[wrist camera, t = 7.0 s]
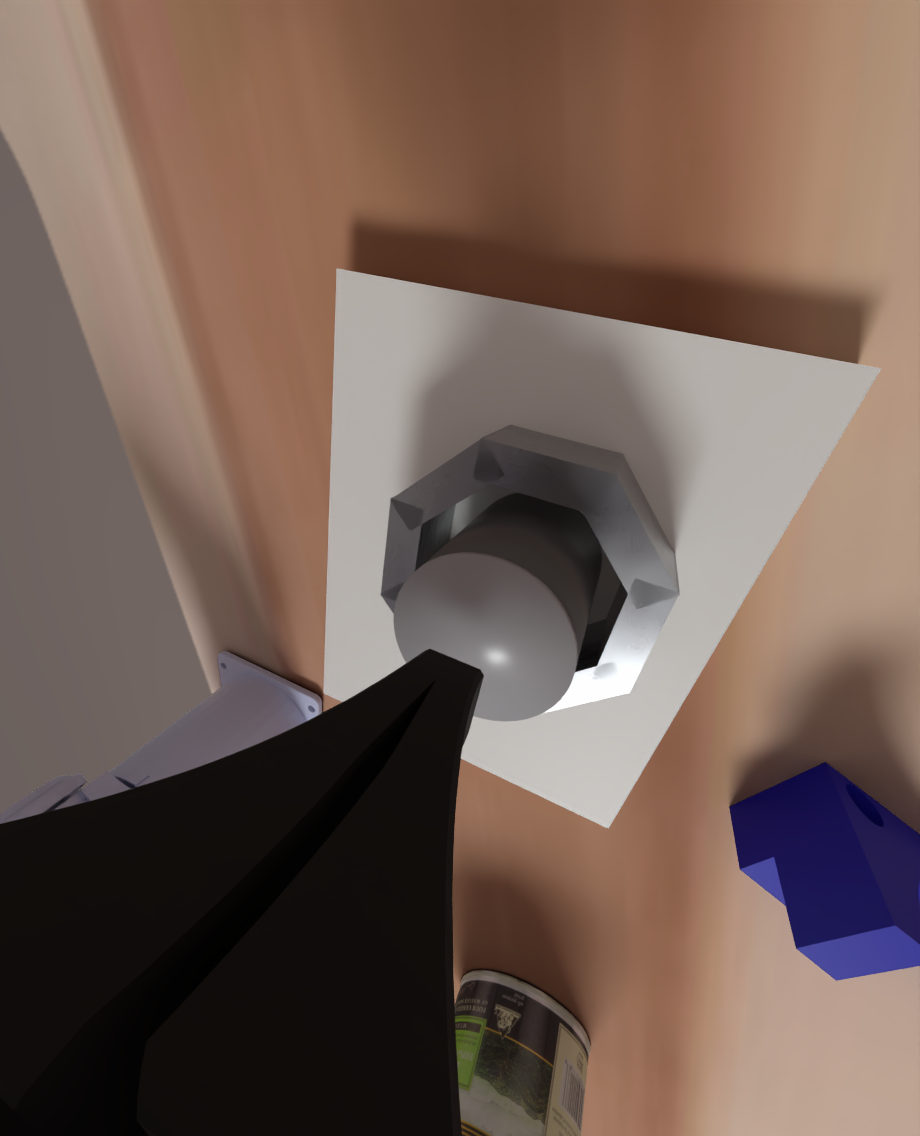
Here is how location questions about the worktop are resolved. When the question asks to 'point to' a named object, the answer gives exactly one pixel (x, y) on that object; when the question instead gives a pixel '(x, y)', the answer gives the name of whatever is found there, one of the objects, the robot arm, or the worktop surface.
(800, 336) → the worktop surface
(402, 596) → the dark gray cylinder
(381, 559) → the socket board
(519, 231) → the worktop surface
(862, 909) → the blue u-shaped cradle block
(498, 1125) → the coffee can
